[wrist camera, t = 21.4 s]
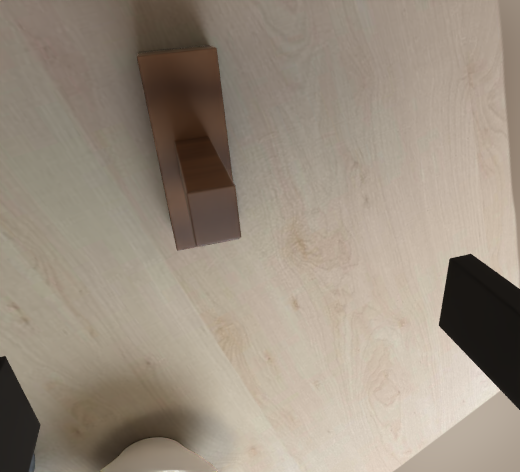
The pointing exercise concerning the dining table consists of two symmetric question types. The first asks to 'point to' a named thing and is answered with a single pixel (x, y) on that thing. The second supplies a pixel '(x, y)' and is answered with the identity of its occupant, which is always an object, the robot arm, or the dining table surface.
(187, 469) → the bowl
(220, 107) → the brush
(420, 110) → the dining table surface
